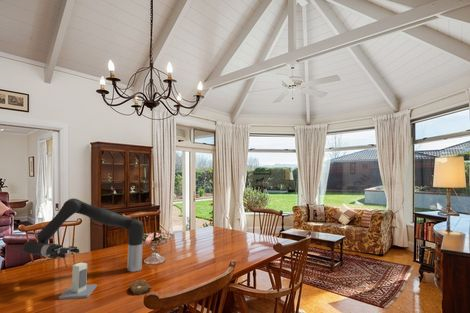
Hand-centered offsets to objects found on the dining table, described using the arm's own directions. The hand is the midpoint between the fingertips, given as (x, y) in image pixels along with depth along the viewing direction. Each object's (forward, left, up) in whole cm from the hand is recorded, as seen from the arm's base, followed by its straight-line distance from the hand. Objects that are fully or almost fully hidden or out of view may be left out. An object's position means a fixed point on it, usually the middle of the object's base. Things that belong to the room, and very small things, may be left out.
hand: (72, 253), depth 150 cm
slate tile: (+3, +6, -21) cm, 22 cm away
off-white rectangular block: (+3, +6, -19) cm, 20 cm away
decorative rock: (+3, +38, -21) cm, 44 cm away
